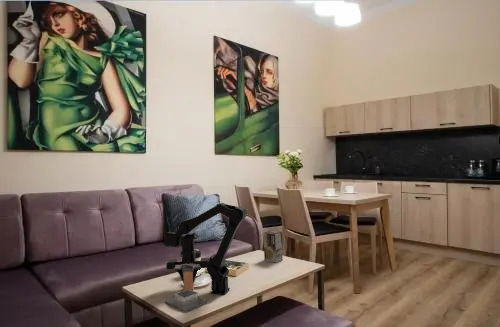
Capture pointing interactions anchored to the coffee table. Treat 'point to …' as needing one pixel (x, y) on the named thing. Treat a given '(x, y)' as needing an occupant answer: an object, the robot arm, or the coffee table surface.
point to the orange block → (188, 277)
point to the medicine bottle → (197, 256)
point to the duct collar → (186, 300)
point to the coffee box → (273, 246)
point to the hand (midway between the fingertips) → (188, 282)
